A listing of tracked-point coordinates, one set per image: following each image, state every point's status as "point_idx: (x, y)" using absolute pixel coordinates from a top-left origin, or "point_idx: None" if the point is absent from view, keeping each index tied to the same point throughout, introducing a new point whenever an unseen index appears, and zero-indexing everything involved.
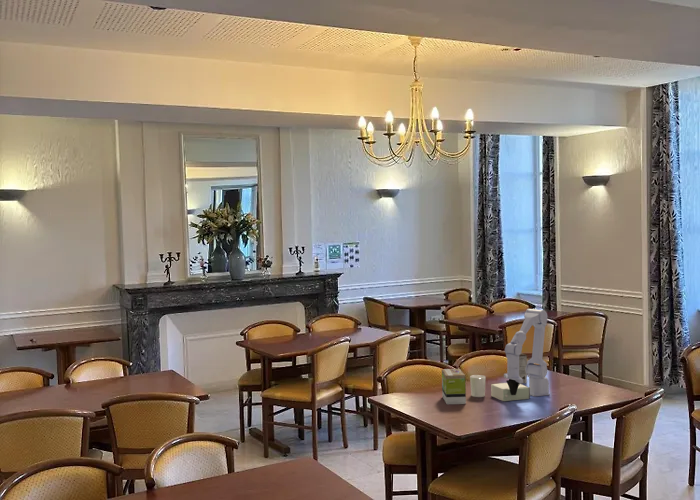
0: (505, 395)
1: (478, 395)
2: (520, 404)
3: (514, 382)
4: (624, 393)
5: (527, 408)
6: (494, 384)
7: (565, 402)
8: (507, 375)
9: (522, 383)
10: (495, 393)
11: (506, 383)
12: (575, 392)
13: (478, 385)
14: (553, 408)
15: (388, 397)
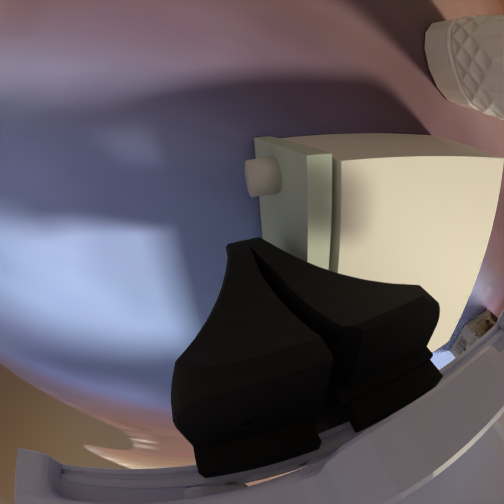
0: (262, 160)
1: (433, 33)
2: (126, 258)
3: (191, 432)
4: (248, 485)
5: (17, 271)
6: (495, 182)
7: (172, 439)
8: (493, 449)
9: (456, 340)
10: (417, 139)
11: (465, 288)
12: None
13: (495, 29)
14: (55, 389)
15: None
